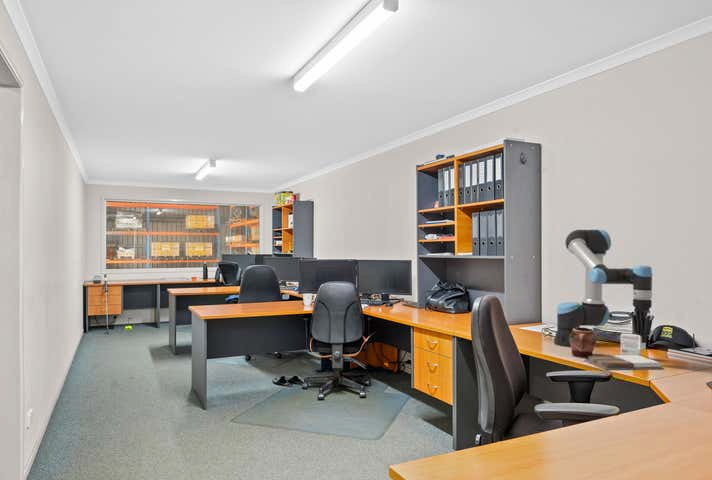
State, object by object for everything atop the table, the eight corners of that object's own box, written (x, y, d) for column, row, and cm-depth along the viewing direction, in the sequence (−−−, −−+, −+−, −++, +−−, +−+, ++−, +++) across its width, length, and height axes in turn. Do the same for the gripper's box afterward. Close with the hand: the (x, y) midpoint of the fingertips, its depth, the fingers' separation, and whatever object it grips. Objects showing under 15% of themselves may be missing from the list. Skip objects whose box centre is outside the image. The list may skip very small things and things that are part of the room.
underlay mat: (583, 360, 228) (583, 359, 228) (638, 360, 230) (638, 359, 230) (605, 370, 211) (605, 368, 211) (663, 369, 213) (663, 367, 213)
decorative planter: (597, 362, 226) (597, 332, 226) (569, 359, 231) (569, 330, 231) (595, 353, 244) (595, 326, 244) (569, 351, 249) (569, 325, 249)
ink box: (641, 358, 234) (641, 334, 234) (640, 360, 230) (640, 336, 230) (621, 356, 239) (621, 332, 239) (620, 358, 235) (620, 334, 235)
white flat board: (613, 359, 228) (613, 355, 228) (637, 359, 229) (637, 354, 229) (634, 367, 213) (634, 363, 213) (659, 366, 214) (659, 362, 214)
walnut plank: (588, 360, 227) (588, 356, 227) (612, 359, 228) (612, 355, 228) (607, 368, 212) (607, 363, 212) (633, 367, 213) (633, 363, 213)
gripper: (625, 297, 228) (625, 346, 228) (644, 300, 215) (643, 352, 215) (640, 297, 229) (640, 346, 229) (659, 300, 216) (659, 352, 216)
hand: (641, 349), depth 222 cm, fingers closed
